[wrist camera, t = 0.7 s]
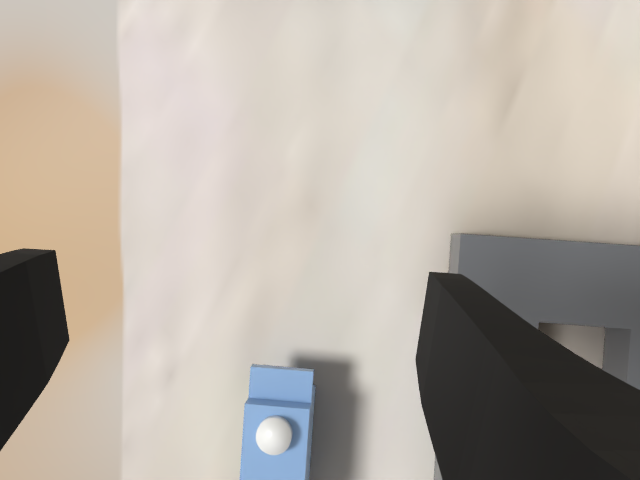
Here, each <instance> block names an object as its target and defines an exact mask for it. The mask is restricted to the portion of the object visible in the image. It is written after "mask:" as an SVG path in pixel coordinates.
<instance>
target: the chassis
mask: <svg viewBox="0 0 640 480" xmlns="http://www.w3.org/2000/svg"><path fill="white" fill-rule="evenodd" d="M449 273H455V274H462V275H464V276H465V277H467V278H469V279H470V280H472V281H473V282H474V283H476V284H477V285H479V286H480V287H481V288H483V289H484V290H485V291H487V292H488V293H489V294H491V295H492V296H493V297H495V298H496V299H497V300H498V301H500V302H501V303H502V304H504V305H505V306H506V307H508V308H509V309H510V310H512V311H513V312H514V313H516V314H517V315H519V316H520V317H521V318H523V319H524V320H525V321H527V322H528V323H530V324H531V325H532V326H534V327H535V328H537V329H538V326H539V322H543V323H556V324H569V325H582V326H595V327H606V328H605V342H604V355H603V368H602V370H604V371H605V372H607V373H609V374H611V375H613V376H615V377H616V378H618V379H620V380H622V381H624V382H626V383H627V384H629V385H631V386H633V387H635V388H637V389H639V390H640V246H636V245H621V244H606V243H591V242H576V241H561V240H546V239H532V238H517V237H502V236H487V235H472V234H451V245H450V259H449ZM434 480H442V476H441V473H440V469H439V466H438V462H437V459H436V455H435V469H434Z"/></svg>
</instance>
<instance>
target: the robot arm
mask: <svg viewBox="0 0 640 480" xmlns="http://www.w3.org/2000/svg"><path fill="white" fill-rule="evenodd" d="M68 342H69V334H68V329H67V322H66V315H65V309H64V303H63V296H62V290H61V284H60V277H59V270H58V264H57V258H56V252H55V250H39V249H20V250H14V251H10V252H6V253H3V254H0V451H1V449H2V448H3V446H4V445H5V444H6V442H7V441H8V439H9V438H10V436H11V435H12V434H13V432H14V431H15V430H16V428H17V427H18V425H19V424H20V423H21V421H22V420H23V418H24V417H25V415H26V414H27V413H28V411H29V410H30V408H31V407H32V405H33V404H34V402H35V401H36V400H37V398H38V397H39V395H40V394H41V393H42V391H43V390H44V388H45V386H46V385H47V384H48V382H49V380H50V378H51V376H52V374H53V372H54V371H55V368H56V367H57V365H58V363H59V361H60V359H61V357H62V355H63V352H64V350H65V348H66V346H67V344H68ZM416 367H417V375H418V383H419V390H420V397H421V404H422V408H423V411H424V415H425V419H426V423H427V426H428V430H429V434H430V437H431V441H432V444H433V448H434V452H435V455H436V459H437V462H438V466H439V469H440V473H441V476H442V480H640V390H639V389H637V388H635V387H633V386H631V385H629V384H627V383H626V382H624V381H622V380H620V379H618V378H616V377H615V376H613V375H611V374H609V373H607V372H605V371H604V370H602V369H600V368H598V367H596V366H595V365H593V364H591V363H589V362H588V361H586V360H584V359H583V358H581V357H579V356H578V355H576V354H574V353H573V352H571V351H570V350H568V349H567V348H565V347H564V346H562V345H561V344H559V343H558V342H556V341H554V340H553V339H551V338H550V337H548V336H547V335H545V334H544V333H542V332H541V331H540V330H538V329H537V328H535V327H534V326H532V325H531V324H530V323H528V322H527V321H525V320H524V319H523V318H521V317H520V316H519V315H517V314H516V313H514V312H513V311H512V310H510V309H509V308H508V307H506V306H505V305H504V304H502V303H501V302H500V301H498V300H497V299H496V298H495V297H493V296H492V295H491V294H489V293H488V292H487V291H485V290H484V289H483V288H481V287H480V286H479V285H477V284H476V283H474V282H473V281H472V280H470V279H469V278H467V277H465V276H464V275H462V274H455V273H438V272H429V277H428V283H427V290H426V296H425V303H424V309H423V315H422V322H421V328H420V335H419V341H418V347H417V354H416Z"/></svg>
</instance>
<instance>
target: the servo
mask: <svg viewBox="0 0 640 480" xmlns="http://www.w3.org/2000/svg"><path fill="white" fill-rule="evenodd" d="M313 377H314V369H305V368H293V367H281V366H269V365H257V364H252V366H251V370H250V385H249V398H248V400H247V401H246V403H245V409H244V424H243V439H242V454H241V469H240V480H309V476H310V461H311V446H312V432H313V417H314V402H315V388H316V386H314V385H313Z"/></svg>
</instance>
